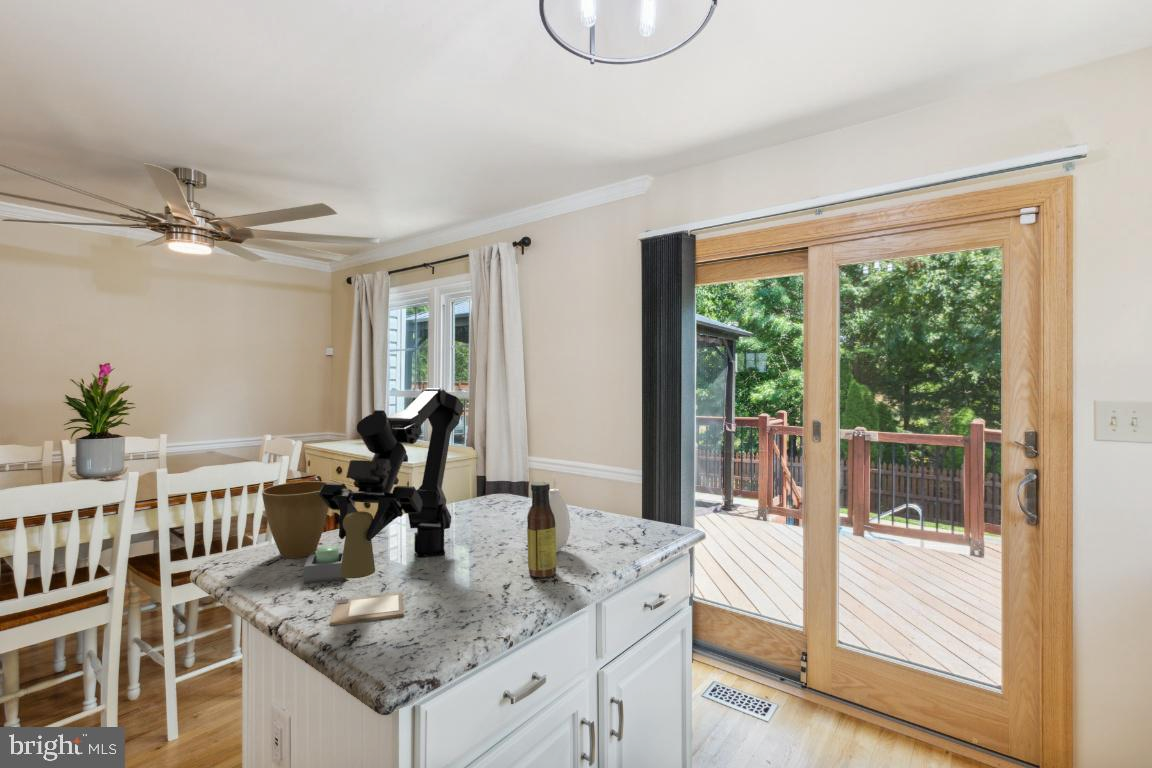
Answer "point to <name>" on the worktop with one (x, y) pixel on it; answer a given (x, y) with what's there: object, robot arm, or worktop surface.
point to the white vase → (559, 517)
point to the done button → (327, 554)
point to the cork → (357, 546)
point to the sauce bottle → (541, 533)
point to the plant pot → (295, 516)
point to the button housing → (322, 570)
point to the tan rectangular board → (367, 608)
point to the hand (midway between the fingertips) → (354, 538)
